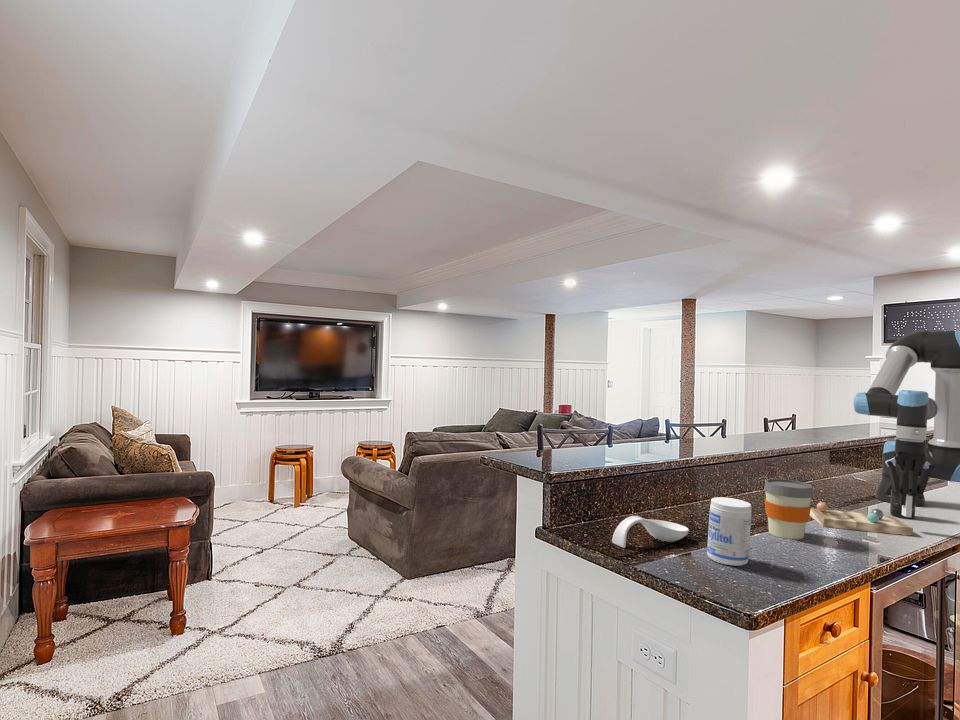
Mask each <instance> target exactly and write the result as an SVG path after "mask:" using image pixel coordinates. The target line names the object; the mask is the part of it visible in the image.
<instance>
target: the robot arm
mask: <svg viewBox="0 0 960 720" xmlns="http://www.w3.org/2000/svg"><path fill="white" fill-rule="evenodd" d="M885 358H886V359H885V360H884V362H883V364H882V366H881V367H880V369H879V371H878V373H877V375H876V376H875V377H874V380H873V382H872V383H871V386H870V387H869V389H868V390H867V392H866V391H863V392H857V393H856V394H855V396H854V398H853V409H854V411H855V412H856V414H859V415H866V416H872V417H874V416H875V417H885V418H894V419H896V426H895V438H896V439H895V440H887V441H886V442H884V443H883V450H882V469H881V480H880V481H879V484H878V486H877V488H876V490H875V493H874V495H875V496H874V497H875V498H876V500H877V499H878V500H879V501H883V502H887V503H890V504H891V490H892V489H893V491H896V492H898V493H899V503H900V504H901V505H902V515H903V516H905V517H911V515H912V506H915V501H916V506H915V507H922V506H925V505H926V499H925V495H924V493H925V491H926V487H927V485H928V481H929V479H935V480H941V481H946V482H951V483H953V482H954V483H960V330H958V329H956V330H917V331H913V332H910V333H907V334H905V335H904V336H902V337H900V338H898V339H896V340H895V341H894V342H893V343H892V344H891V345H890V346H889V347H888V349H887V350H886V352H885ZM917 363H925V364H926V363H929V364H930V369H931V370H932V371H934V373H935V383H934V385H935V386H934V399H933V398H932V397H929V393H928V392H927V391H923V390H909V389H906V390H905V389H901V390H899V388H900V386H901V384H902V383H903V381H904V379H905V377H906V375H907V373H908V372H909V370H910V368H912V367H913V366H915V365H916V364H917ZM898 390H899V391H898ZM897 392H898V393H897ZM931 419H933V438H931V439H930V440H928V441H927V444H926V442H925V441H926V440H927V431H928V429H927V428H928V421H929V420H931ZM898 480H899V481H898ZM908 481H909V490H908V493H909V495H908V494H907V486H908Z"/></svg>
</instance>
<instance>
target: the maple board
mask: <svg viewBox="0 0 960 720" xmlns="http://www.w3.org/2000/svg"><path fill="white" fill-rule="evenodd" d="M868 514H869V513H864V512H863V513H862V512H855V511H844V510H834V509H833V510H831V509H827V510H826V511H824V512H822V511H819V510H818V509H817V508H813V507H811V510H810V516H809V517H811V518H812V519H813V520H814V521H815V522H817V523H818V524H820V525H821V526H822V527H823V528H833V529H841V530H842V529H843V530H852V531H860V532H861V531H862V532H872V533H878V534H888V533H889V534H891V535H897V534H902V535H901V536H907V535H914V527H912V526H911V525H909V524H907V523H905V522H904V521H902V520H900V519H898V517H895V516H893V515H884V514H883V518H882V519H879V520H878V521H877V522H875V523H873V522H870V521H869V520H868V519H867V515H868Z"/></svg>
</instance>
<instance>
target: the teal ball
mask: <svg viewBox="0 0 960 720" xmlns="http://www.w3.org/2000/svg"><path fill="white" fill-rule="evenodd" d="M867 514H868V515H867V519H868V520H869V521H870V522H873V523H875V522H877V521H878V520H879V516H878V515H877V514H876V513H873V512H869V513H867Z"/></svg>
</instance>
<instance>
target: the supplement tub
mask: <svg viewBox="0 0 960 720" xmlns="http://www.w3.org/2000/svg"><path fill="white" fill-rule="evenodd" d="M752 511H753V510H752V504H751V503H750V502H747V501H745V500H741V499H737V498H733V497H723V496H719V497H718V496H716V497H711V500H710V507H709V517H708V518H709V519H708V531H707V543H706V544H707V546H706V549H707V550H706V555H707V557H708V558H709V559H710V560H712V561H714V562H716V563H719V564H721V565H728V566H731V567H733V566H734V567H736V566H737V567H742V566H745V565H746V564H747V563H748V562H749V558H750V557H749V555H750V542H751V541H750V539H751V527H752V526H751V525H752Z"/></svg>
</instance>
